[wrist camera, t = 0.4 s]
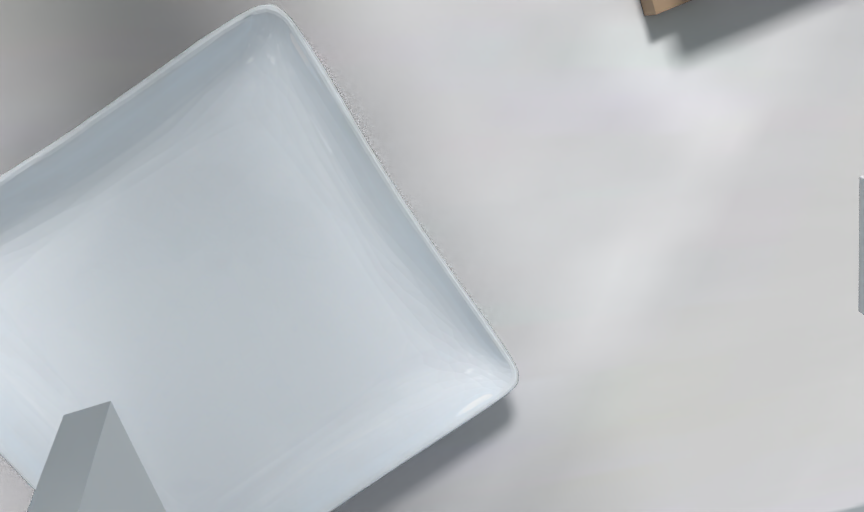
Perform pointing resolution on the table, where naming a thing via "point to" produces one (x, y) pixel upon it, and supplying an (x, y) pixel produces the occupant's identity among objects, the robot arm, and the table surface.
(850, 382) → the table surface
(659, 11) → the cup dock
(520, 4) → the table surface
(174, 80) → the salad plate
